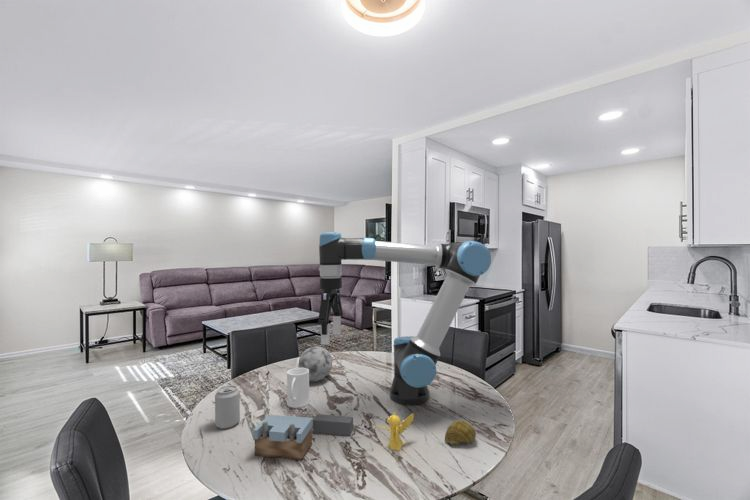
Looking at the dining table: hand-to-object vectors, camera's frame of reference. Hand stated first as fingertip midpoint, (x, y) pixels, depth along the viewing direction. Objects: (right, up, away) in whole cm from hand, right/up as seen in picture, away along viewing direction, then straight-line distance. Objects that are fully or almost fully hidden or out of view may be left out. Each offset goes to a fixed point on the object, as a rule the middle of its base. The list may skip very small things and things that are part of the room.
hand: (331, 339), depth 117 cm
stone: (-11, -27, +33) cm, 44 cm away
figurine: (+19, -27, -17) cm, 37 cm away
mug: (-14, -27, +9) cm, 32 cm away
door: (-11, -22, -19) cm, 31 cm away
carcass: (-11, -27, -19) cm, 35 cm away
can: (-34, -27, -4) cm, 44 cm away
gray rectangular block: (+2, -27, -10) cm, 28 cm away
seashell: (+40, -26, -16) cm, 51 cm away
